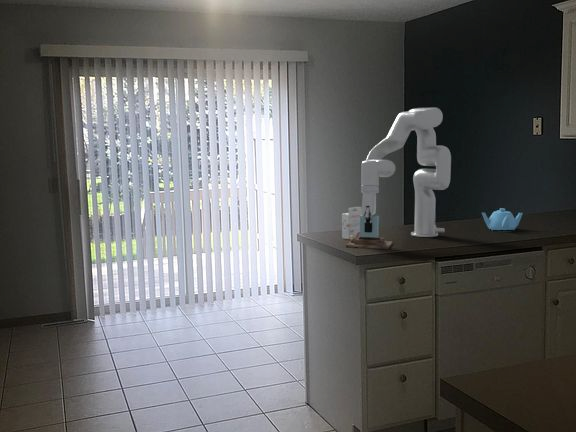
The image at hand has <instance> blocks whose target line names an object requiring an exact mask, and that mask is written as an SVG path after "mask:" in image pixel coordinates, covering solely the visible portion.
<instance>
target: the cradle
mask: <svg viewBox="0 0 576 432" xmlns="http://www.w3.org/2000/svg"><path fill="white" fill-rule="evenodd" d="M392 245H393V241H391V240H385V237H382V236H378V237H377V238H376V237H360V236H358V237H357V238H355V239H354V235H351V236H350V239H349V242H348V243H346V244H345V248H354V247H358V248H361V249H377V250H378V249H382V250H388V249H390V248H391V246H392Z"/></svg>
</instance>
